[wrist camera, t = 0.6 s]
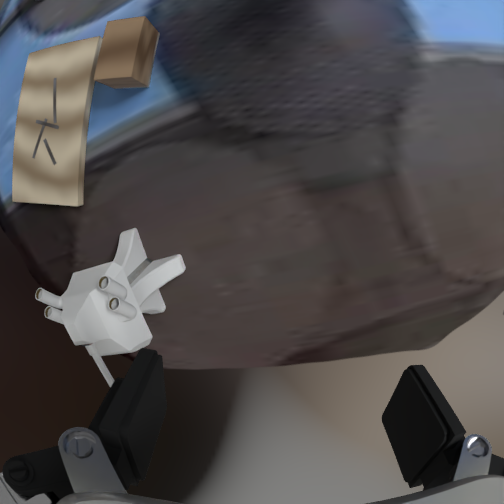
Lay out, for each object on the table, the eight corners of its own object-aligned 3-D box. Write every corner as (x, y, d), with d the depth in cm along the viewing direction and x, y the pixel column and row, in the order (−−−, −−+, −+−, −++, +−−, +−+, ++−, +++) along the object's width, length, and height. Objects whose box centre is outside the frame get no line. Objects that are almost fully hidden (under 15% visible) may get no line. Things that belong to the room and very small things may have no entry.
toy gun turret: (128, 323, 42) (74, 403, 25) (94, 241, 38) (12, 293, 21) (200, 309, 41) (168, 401, 24) (168, 217, 37) (102, 265, 20)
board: (34, 55, 29) (28, 53, 28) (104, 39, 29) (99, 36, 28) (18, 199, 36) (12, 201, 35) (83, 204, 36) (77, 206, 35)
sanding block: (126, 36, 30) (107, 21, 24) (159, 33, 30) (144, 16, 24) (115, 89, 32) (93, 80, 26) (149, 87, 32) (131, 76, 26)
